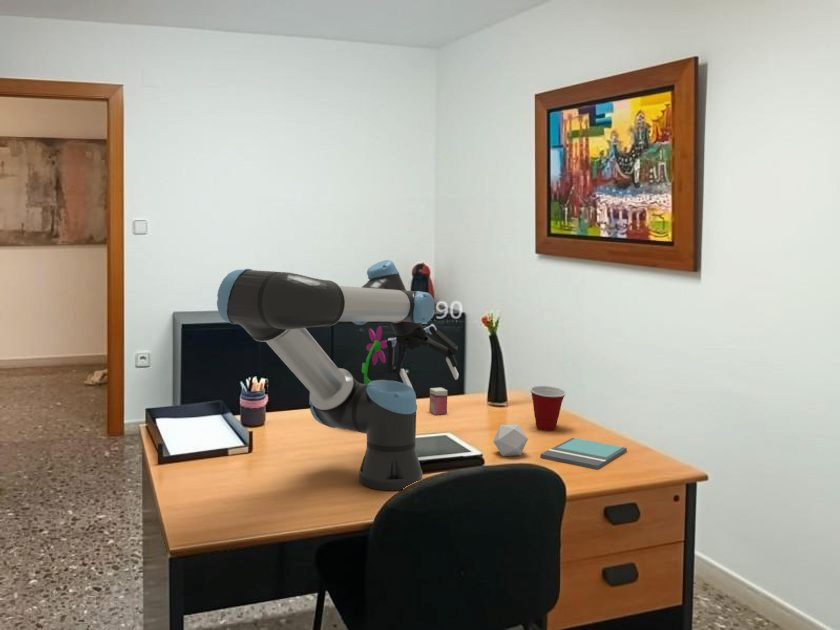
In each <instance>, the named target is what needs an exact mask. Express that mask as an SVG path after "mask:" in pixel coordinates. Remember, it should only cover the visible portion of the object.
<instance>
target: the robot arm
mask: <svg viewBox="0 0 840 630" xmlns="http://www.w3.org/2000/svg"><path fill="white" fill-rule="evenodd" d="M366 276H367V279H368V280H367V282H366V283H365V284H364V285H362V286H361V287H359V286H348V285H347V286H344V285H339V284H338V283H337V282H335V281H333V280H327V279H320V278H315V277H311V276H306V275H303V274H298V273H293V272H287V271H274V270H273V271H269V270H257V269H256V270H255V269H252V268H245V269H235V270H232V271H231V272H230V271H229V273H227V275H226V276H225V277H224V278H223V279H222V281H221V283H220V284H219V287H218V291H217V295H216V297H217V301H216V307H217V310H218V311H217V312H218V313H219V315H220V317H221V319H223V321H225V322H227V323H229V324H231V325H239V326H240V327H242V328H243V329H244V330H245V331H246V333H247V334H248V335H249V336H250V337H251V338H252V339H253V340H255V341H256V342H260V343H262V342H264V343H266V344H267V345H268V346H269V348H271V350H273V352H274V354H276V355H277V356H278V358H280V360H281V361H282V362H283V363H284V364H285V365H286V366H287V368H288V369H289V370H290V371H291V373H293V374H294V375H295V377H296V378H297V379H298V380H299V381H300V382H301V383H302V384H303V385H304V387H305V388H306V389H307V390H308V391H309V400H308V401H309V406H310V408H309V410H310V414H311V415H312V417H313V418H314V420H315V421H317V422H318V423H319V424H320V425H323V426H325V427H329V428H331V429H341V430H346V431H351V432H355V433H361V434H366V450H365V453H364V455H363V459H362V461H361V463H360V464H361V465H360V467H359V470H358V471H359V472H358V481H359V483H360V484H361V485H362V486H364V487H367V488H369V489H374V490H381V491H403V490H402V489H403V488H405V487H406V486H408V485H410V484H412V483H414V482H416V481H419V480H421V479H422V480H423V470H422V468H421V463H420V460H419V456H418V453H417V450H416V438H417V435H416V433H417V410H418V405H417V396H416V392H415V390H414V388H413V385H412V382H411V381H410V379H409V377H408V375H407V372H406V371H405V369H404V368H402V364H403V362H404V360H405V357H406V353H407V350H410V351H411V350H415V349H417V348H418V349H419V348H421V347H422V346H424V347H427V348H430V349H432V350H433V351H436V352H438V353H440V354H441V355H443V356H445V361H446V363H447V365H448V368H449V370H450V372H451V374H452V376H453V378H454V380H455V381H456V380H458V379H459V375H460V374H459V372H458V370H457V368H456V367H457V366H458V360H457V359H456V357H455V354H457V353H458V348H459V346H458V345H457V344H456V343H455V342H453V341H452V340H451V339H450V338H449V337H447V336H446V335H445V334H444V333H443V332H441V330H439V329H438V328H437V327H438V326H437V325H436V324H435V323H433V322H432V323H430V325H429V326H426V327H424V326H423V324H426V323H428V322H430V321H431V319H432V318H433V316H434V312H435V301H434V297H433V296H432V294H430V293H429V292H425V291H419V290H417V291H416V290H414V291H413V290H407V289H406V287H405V284H404V282H403V280H402V278H401V275H400V271H398V269H397V267H396V265H395V263H394V262H393V261H392V260H389V259H387V260H382V261H379V262H376V263H374V264H373V265H371V266H370V267H368V268H367V271H366ZM339 322H351V323H353V324H355V325H358V326H362V325H365V324H367V323H369V322H386V323H387V322H390V323H389V324H390V326H391V328H392V329H391V330H393V332H394V335H395V336H396V337H391V336H389V337H388V338H387V340H386V341H387V349H388V356H387V374H388V375H392V374H395V375H396V376H397V379H398V381H396V380H391V379H390V380H387V379H376V380H374V379H373V380H371V382H370V383H369V384H368V385H367V384H364V383H361V382H358V381H357V380H356V379H355V377H354V375H352V373H351V372H349V370H347V369H345V368H340V367H338V366H337V365H336V364H335V363H334V361H333V360H332V359H331V358H330V356H329V355H328V354H327V353H326V352H325V350H324V349H323V348H322V347H321V345H320V344H319V343H318V342H317V340H316V339H315V338H314V337H313V335H311V333H310V331H308V329H307V328H317V327H318V328H319V327H331V326H334V325H336V324H337V323H339ZM427 333H428V334H429V335H432V336H433V337H434V338H435V339H436V340H437V341H438V342H437V341H436V340H434V339H432V338H431V337H430V336H428V335H427ZM397 344H398V345H401V346H402V347H401V351H400V355H399V357H398V359H397V364H396V366H395V365H394V363H395V347H396V345H397Z"/></svg>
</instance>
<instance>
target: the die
mask: <svg viewBox="0 0 840 630" xmlns="http://www.w3.org/2000/svg"><path fill="white" fill-rule="evenodd" d="M528 440H529V438H528V437H527V435H526V433H525V432H524V431H523V430H522V428H521V426H520V425H519V424H499V427H498V428H497V431H496V434H495V436H494V439H493V441H492V442H493V444H494V445H495V447H496V448H497V450H498V451H499V453H500V454H501V456H502V457H515V456H522V454H523V452H524V449H525V447H526V445H527V442H528Z"/></svg>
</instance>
